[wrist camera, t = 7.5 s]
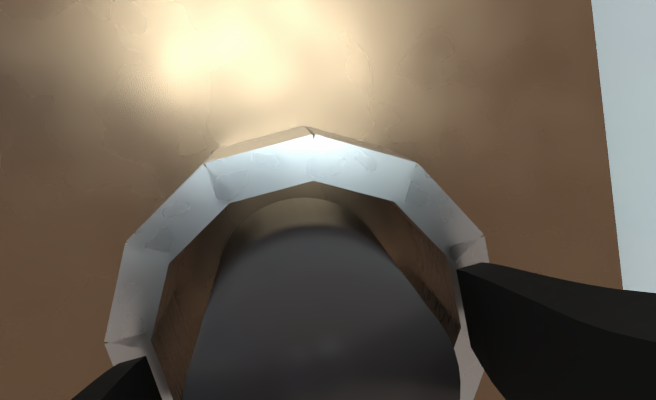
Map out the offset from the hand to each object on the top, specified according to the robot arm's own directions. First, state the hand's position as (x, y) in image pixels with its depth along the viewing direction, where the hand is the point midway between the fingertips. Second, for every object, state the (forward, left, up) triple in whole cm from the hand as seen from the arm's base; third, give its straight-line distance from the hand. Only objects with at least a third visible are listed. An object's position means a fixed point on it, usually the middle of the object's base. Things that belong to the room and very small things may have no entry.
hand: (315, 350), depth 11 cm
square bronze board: (0, 0, -5) cm, 5 cm away
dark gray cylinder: (0, 0, -4) cm, 4 cm away
